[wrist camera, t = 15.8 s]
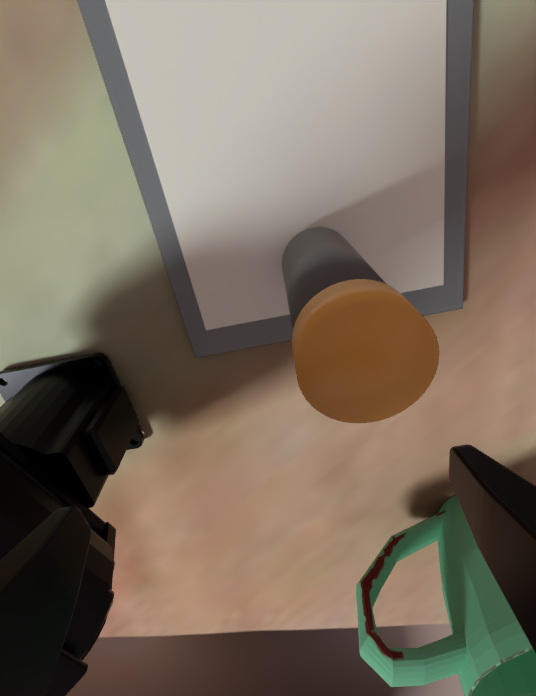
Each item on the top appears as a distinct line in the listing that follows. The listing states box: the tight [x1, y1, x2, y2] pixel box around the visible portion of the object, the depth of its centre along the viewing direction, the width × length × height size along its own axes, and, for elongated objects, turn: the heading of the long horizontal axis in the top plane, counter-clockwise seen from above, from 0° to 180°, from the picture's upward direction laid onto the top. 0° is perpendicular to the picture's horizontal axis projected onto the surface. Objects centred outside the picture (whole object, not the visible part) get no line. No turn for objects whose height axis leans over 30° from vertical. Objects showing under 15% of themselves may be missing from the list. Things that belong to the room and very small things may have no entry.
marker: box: [282, 227, 439, 423], centre depth 14 cm, size 3×3×10 cm
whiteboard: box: [77, 0, 473, 358], centre depth 16 cm, size 14×18×2 cm
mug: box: [356, 495, 536, 696], centre depth 23 cm, size 15×10×10 cm
